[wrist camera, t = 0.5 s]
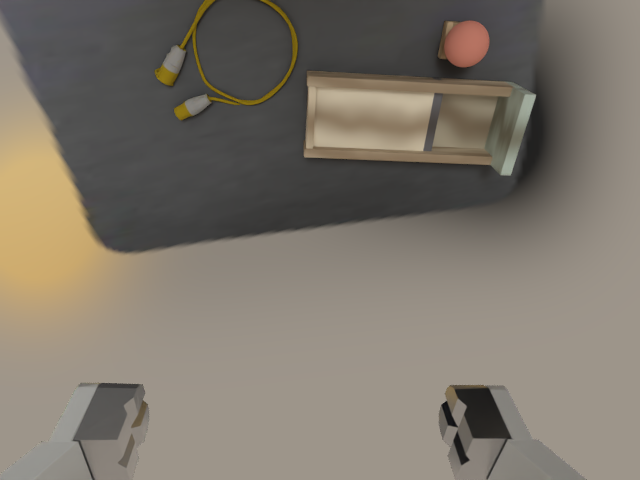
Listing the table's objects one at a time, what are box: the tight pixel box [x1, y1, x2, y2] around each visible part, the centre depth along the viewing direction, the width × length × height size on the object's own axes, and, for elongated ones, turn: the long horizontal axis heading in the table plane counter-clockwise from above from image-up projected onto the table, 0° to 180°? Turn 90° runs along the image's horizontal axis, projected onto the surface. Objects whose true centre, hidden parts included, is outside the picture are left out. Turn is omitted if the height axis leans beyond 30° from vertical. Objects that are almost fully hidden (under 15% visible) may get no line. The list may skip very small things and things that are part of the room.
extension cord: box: [155, 0, 298, 120], centre depth 47 cm, size 12×16×2 cm
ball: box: [444, 21, 489, 67], centre depth 45 cm, size 4×4×4 cm
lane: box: [304, 71, 536, 175], centre depth 49 cm, size 9×24×6 cm, turn 87°
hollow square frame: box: [438, 21, 461, 59], centre depth 47 cm, size 4×4×1 cm
